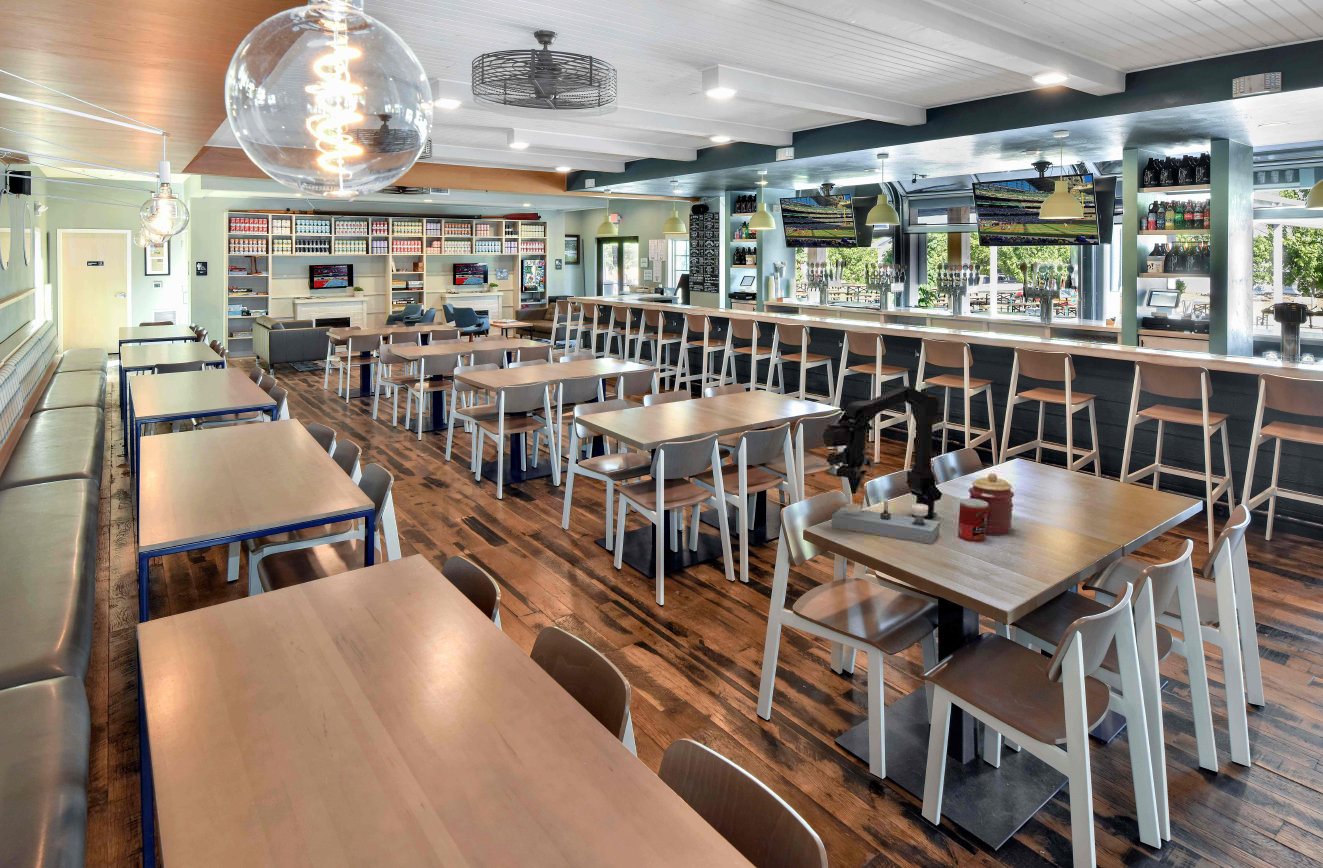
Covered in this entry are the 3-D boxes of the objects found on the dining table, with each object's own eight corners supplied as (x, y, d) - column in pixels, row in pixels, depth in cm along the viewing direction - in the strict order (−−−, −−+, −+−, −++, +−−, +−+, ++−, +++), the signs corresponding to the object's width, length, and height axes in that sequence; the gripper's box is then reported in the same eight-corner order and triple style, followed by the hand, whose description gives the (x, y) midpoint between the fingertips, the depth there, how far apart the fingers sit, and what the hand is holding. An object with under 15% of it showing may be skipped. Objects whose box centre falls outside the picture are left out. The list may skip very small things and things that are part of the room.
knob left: (847, 518, 248) (848, 502, 247) (862, 520, 246) (863, 504, 245) (843, 522, 244) (844, 506, 243) (857, 524, 242) (858, 508, 241)
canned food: (976, 543, 229) (979, 507, 227) (952, 536, 235) (954, 501, 233) (991, 538, 233) (994, 502, 231) (966, 531, 240) (969, 496, 238)
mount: (842, 518, 252) (842, 506, 251) (938, 534, 237) (939, 521, 236) (831, 527, 244) (832, 515, 243) (931, 543, 229) (932, 530, 228)
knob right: (912, 519, 238) (914, 502, 237) (928, 521, 235) (929, 505, 234) (909, 523, 234) (910, 506, 233) (925, 525, 231) (926, 508, 230)
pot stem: (881, 516, 242) (882, 499, 241) (891, 517, 240) (892, 500, 239) (879, 518, 239) (880, 501, 238) (888, 520, 238) (890, 502, 236)
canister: (1015, 537, 235) (1020, 480, 231) (969, 534, 237) (974, 477, 234) (1005, 523, 247) (1010, 469, 244) (962, 521, 250) (966, 467, 246)
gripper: (840, 436, 252) (837, 483, 255) (820, 447, 236) (818, 497, 239) (874, 440, 246) (871, 488, 250) (857, 451, 231) (854, 502, 234)
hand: (853, 493), depth 243 cm, fingers closed
